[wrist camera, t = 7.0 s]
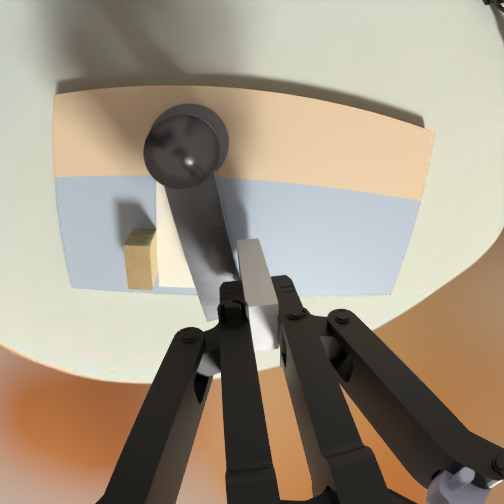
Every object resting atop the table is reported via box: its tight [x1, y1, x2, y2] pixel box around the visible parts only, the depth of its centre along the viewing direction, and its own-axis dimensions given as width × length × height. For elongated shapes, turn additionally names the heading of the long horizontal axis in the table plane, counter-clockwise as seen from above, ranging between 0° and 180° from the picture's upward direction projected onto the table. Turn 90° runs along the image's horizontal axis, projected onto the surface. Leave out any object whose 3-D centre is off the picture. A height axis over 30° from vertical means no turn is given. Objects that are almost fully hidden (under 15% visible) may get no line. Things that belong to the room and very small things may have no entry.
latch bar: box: [143, 114, 240, 321], centre depth 16 cm, size 12×4×4 cm, turn 10°
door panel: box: [53, 85, 435, 297], centre depth 19 cm, size 26×14×1 cm, turn 84°
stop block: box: [123, 228, 158, 290], centre depth 18 cm, size 2×3×2 cm, turn 174°
